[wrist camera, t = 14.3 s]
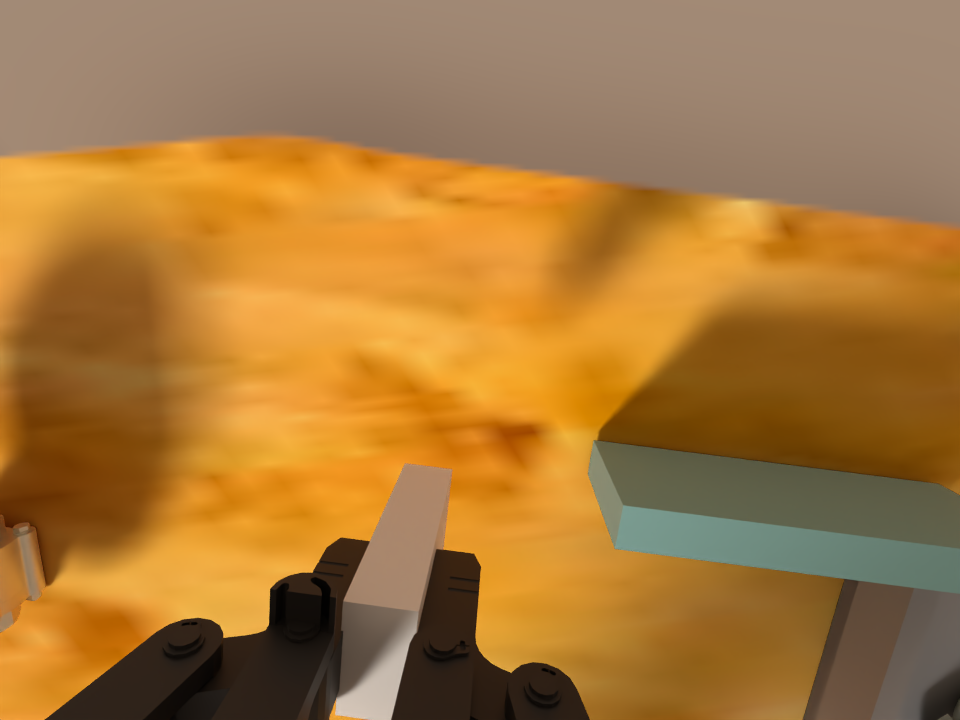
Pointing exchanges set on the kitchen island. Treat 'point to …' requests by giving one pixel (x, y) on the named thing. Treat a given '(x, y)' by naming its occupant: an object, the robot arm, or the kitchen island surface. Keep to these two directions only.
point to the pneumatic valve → (18, 570)
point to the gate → (778, 516)
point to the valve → (958, 715)
